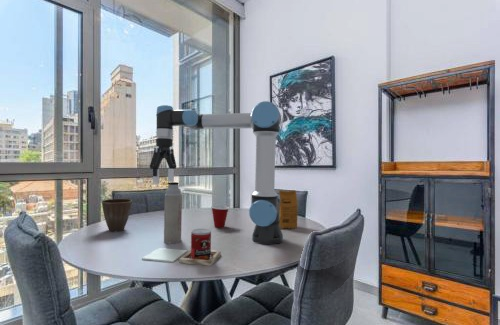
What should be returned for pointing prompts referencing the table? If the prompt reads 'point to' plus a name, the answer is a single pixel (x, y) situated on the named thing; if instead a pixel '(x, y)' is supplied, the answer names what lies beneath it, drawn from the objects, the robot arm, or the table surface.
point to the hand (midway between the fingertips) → (163, 182)
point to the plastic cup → (219, 215)
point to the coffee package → (288, 209)
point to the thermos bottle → (172, 213)
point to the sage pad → (165, 255)
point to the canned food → (201, 244)
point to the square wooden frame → (198, 261)
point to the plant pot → (116, 213)
